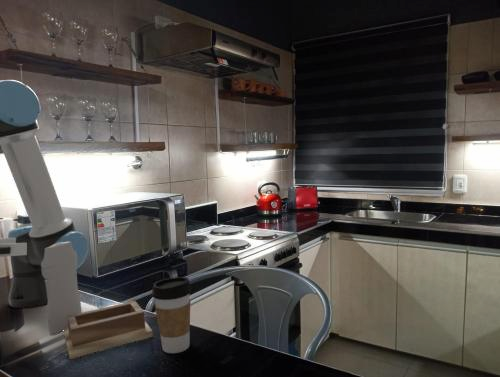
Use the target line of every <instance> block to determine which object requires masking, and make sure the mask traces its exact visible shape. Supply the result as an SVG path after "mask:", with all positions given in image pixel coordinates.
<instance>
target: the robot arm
mask: <svg viewBox="0 0 500 377" xmlns="http://www.w3.org/2000/svg"><path fill="white" fill-rule="evenodd" d="M40 113H41V103H40V100H39V98H38V96H37V95H36V93H35V91H34V90H33V89H31V87H29V86H28V85H26V84H25V83H23V82H21V81H18V80H15V79H5V80H4V79H2V80H0V147H1V151H2V152H3V154H4V157H5V159H6V163H7V166H8V169H9V170H10V173H11V175H12V178H13V180H14V184H15V186H16V189H17V191H18V193H19V196H20V199H21V201H22V204H23V206H24V208H25V211H26V214H27V216H28V219H29V221H30V224H31V225H28V226H23V227H17V228H13V229H10V230H9V231H8V233H7V234H8V237H1V238H0V257H1V258H3V257H9V258H10V265H11V272H12V281H11V286H10V290H9V293H8V305H9V306H10V307H12V308H17V309H18V308H20V309H21V308H22V309H26V308H33V307H38V306H43V305H47V304H48V299H47V292H46V291H47V289H46V285H45V284H46V283H45V280H46V279H45V278H44V277H43V275H42V269H41V262H42V261H43V259H44V253H45V248H47V247H50V246H52V245H54V244H55V243H59V242H71V245H72V248H73V251H75V252H76V253H77V267H76V270H77V269H78V268H79V267H81V265H82V264H84V263H85V260H86V258H87V256H88V254H89V241H88V238H87V237H86V235H85V234H83V233H82V232H80V231H78V230H76V228H75V226H74V222H73V220H72V218H69V217H67V216H65V214H64V211H63V208H62V206H61V203H60V200H59V198H58V195H57V191H56V190H55V186H54V184H53V181H52V178H51V176H50V175H51V174H50V173H49V169H48V167H47V166H48V165H46V161H45V159H44V155H43V153H42V150H41V148H40V144H39V142H38V139H37V136H36V135H37V133H38V132H39V130H40V126H39V123H38V121H37V120H38V118H39V116H40Z"/></svg>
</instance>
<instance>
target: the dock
mask: <svg viewBox="0 0 500 377" xmlns="http://www.w3.org/2000/svg"><path fill="white" fill-rule="evenodd" d="M67 318H68V327H69V328H67V329H64V331H63V336H65V337H64V339H65V340H64V341H65V345H66V349H67V353H68V357H69V360H73V359H74V360H75V359H78V358H80V356H81V357H85V356H88V355H87V354H89V355H91V354H90V353H92V354H94V353H93V352H96V353H98V352H97V351H100V352H102V351H101V350H103V351H105V350H104V349H107V348H110V349H112V348H111V347H114V348H116V347H115V346H118V347H120V346H119V345H121V346H124V345H123V344H125V345H127V344H126V343H129V344H131V343H130V342H132V343H135V342H134V341H136V342H139V340H140V341H143V340H147V339H150V337H151V338H154V335H153V334H154V333H153V330H152V328H151V327H150V326H149V324H148V323H147V322H146V320H145V311H144V310H143V309H142V308H141V306H140V305H139V304H138V303H137V301H136V300H132V301H127V302H123V303H119V304H115V305H111V306H105V307H99V308H95V309H91V310H87V311H82V313H78V314H74V315H69V316H67ZM107 350H108V349H107ZM84 355H85V356H84ZM77 357H78V358H77Z"/></svg>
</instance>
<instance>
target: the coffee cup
mask: <svg viewBox="0 0 500 377" xmlns="http://www.w3.org/2000/svg"><path fill="white" fill-rule="evenodd" d="M190 282H191V281H190V279H189V278H188V277H187V276H186V277H185V276H183V277H182V276H181V277H180V276H179V277H170V278H164V279H160V280H158V281H155V282H154V283H153V284H152V291H151V294H152V295H151V296H152V297H153V298H154V302H155V303H154V309H155V314H156V319H157V320H156V321H157V325H158V331H159V335H160V341H161V347H162V350H163V352H165V353H166V354H178V353H182V352H184V351H186V350H188V349H189V347H190V344H191V343H190V340H191V339H190V337H191V336H190V333H191V332H190V330H191V327H190V326H191V299H190V298H191V297H190V296H191V295H190V294H191V293H192V287H191V284H190Z"/></svg>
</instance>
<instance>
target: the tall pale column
mask: <svg viewBox="0 0 500 377" xmlns="http://www.w3.org/2000/svg"><path fill="white" fill-rule="evenodd" d="M76 267H77V253H76V252H75V251H73V248H72V245H71V242H59V243H55V244H54V245H52V246H50V247H47V248H45V253H44V259H43V261H42V262H41V269H42V275H43V277H44V278H45V279H46V280H45V283H46V284H45V285H46V289H47V291H46V292H47V299H48V303H47V304H46V309H47V310H46V311H47V320H48V327H49V328H48V330H49V335H50V336H55V335H58V334H60V332H61V333H62V331H63V330H64V329H67V328H69V327H68V318H67V316H69V315H74V314H78V313H83V311H82V303H81V296H80V294H81V293H80V291H79V289H78V287H79V286H78V275H77V274H78V273H77V272H78V270H77V269H76ZM63 332H64V331H63Z"/></svg>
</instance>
